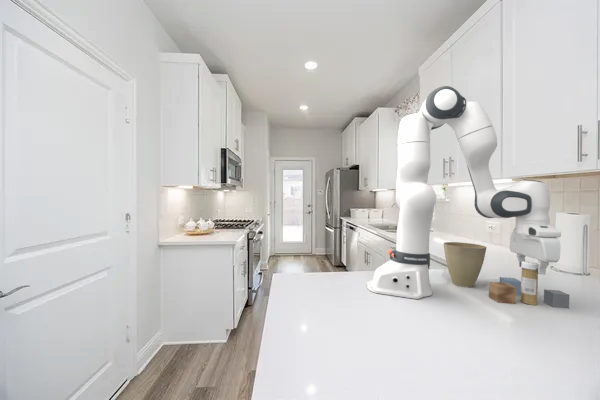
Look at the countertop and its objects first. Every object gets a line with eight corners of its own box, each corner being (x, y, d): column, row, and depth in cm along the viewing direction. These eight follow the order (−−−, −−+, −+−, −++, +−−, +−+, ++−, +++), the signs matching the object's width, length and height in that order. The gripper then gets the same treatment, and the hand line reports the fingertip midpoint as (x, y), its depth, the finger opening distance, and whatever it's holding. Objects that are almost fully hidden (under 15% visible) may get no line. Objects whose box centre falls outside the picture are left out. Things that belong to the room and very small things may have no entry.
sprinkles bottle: (539, 303, 94) (541, 263, 94) (534, 306, 91) (536, 264, 91) (523, 299, 97) (524, 260, 97) (517, 301, 95) (519, 261, 95)
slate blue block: (506, 294, 103) (506, 280, 103) (499, 290, 108) (499, 277, 108) (521, 295, 102) (522, 281, 102) (513, 291, 107) (514, 278, 107)
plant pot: (437, 278, 122) (438, 241, 122) (474, 280, 120) (475, 243, 120) (449, 288, 107) (451, 246, 107) (492, 292, 105) (494, 249, 105)
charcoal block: (553, 307, 91) (553, 293, 91) (543, 302, 96) (544, 289, 96) (569, 308, 90) (569, 294, 90) (558, 303, 95) (559, 290, 95)
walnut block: (497, 302, 93) (497, 286, 93) (489, 297, 99) (489, 281, 99) (515, 304, 92) (516, 287, 92) (506, 298, 98) (507, 282, 98)
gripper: (504, 226, 105) (504, 263, 105) (541, 231, 85) (540, 277, 85) (523, 226, 104) (523, 264, 104) (565, 232, 84) (564, 279, 84)
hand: (531, 270), depth 94 cm, fingers open, 8 cm apart
